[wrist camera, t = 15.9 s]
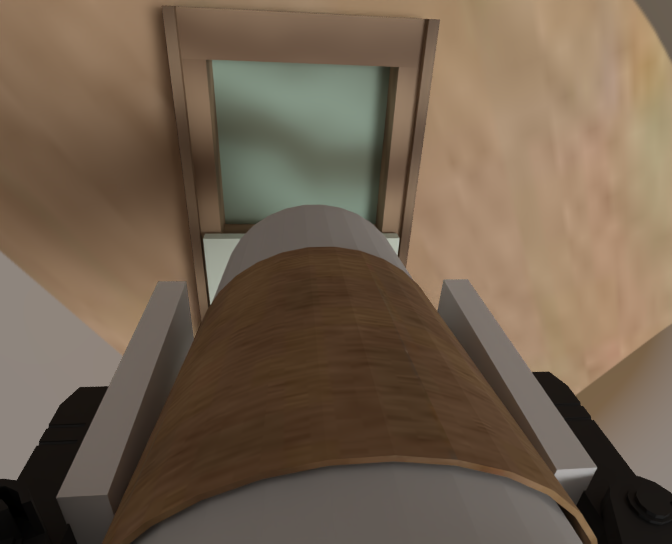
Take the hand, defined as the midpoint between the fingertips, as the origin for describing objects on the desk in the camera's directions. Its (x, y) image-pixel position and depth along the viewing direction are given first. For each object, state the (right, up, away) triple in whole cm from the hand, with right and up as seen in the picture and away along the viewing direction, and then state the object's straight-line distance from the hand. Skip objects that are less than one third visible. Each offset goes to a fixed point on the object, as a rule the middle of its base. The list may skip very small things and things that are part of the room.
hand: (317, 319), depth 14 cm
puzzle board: (-2, +6, +20) cm, 21 cm away
